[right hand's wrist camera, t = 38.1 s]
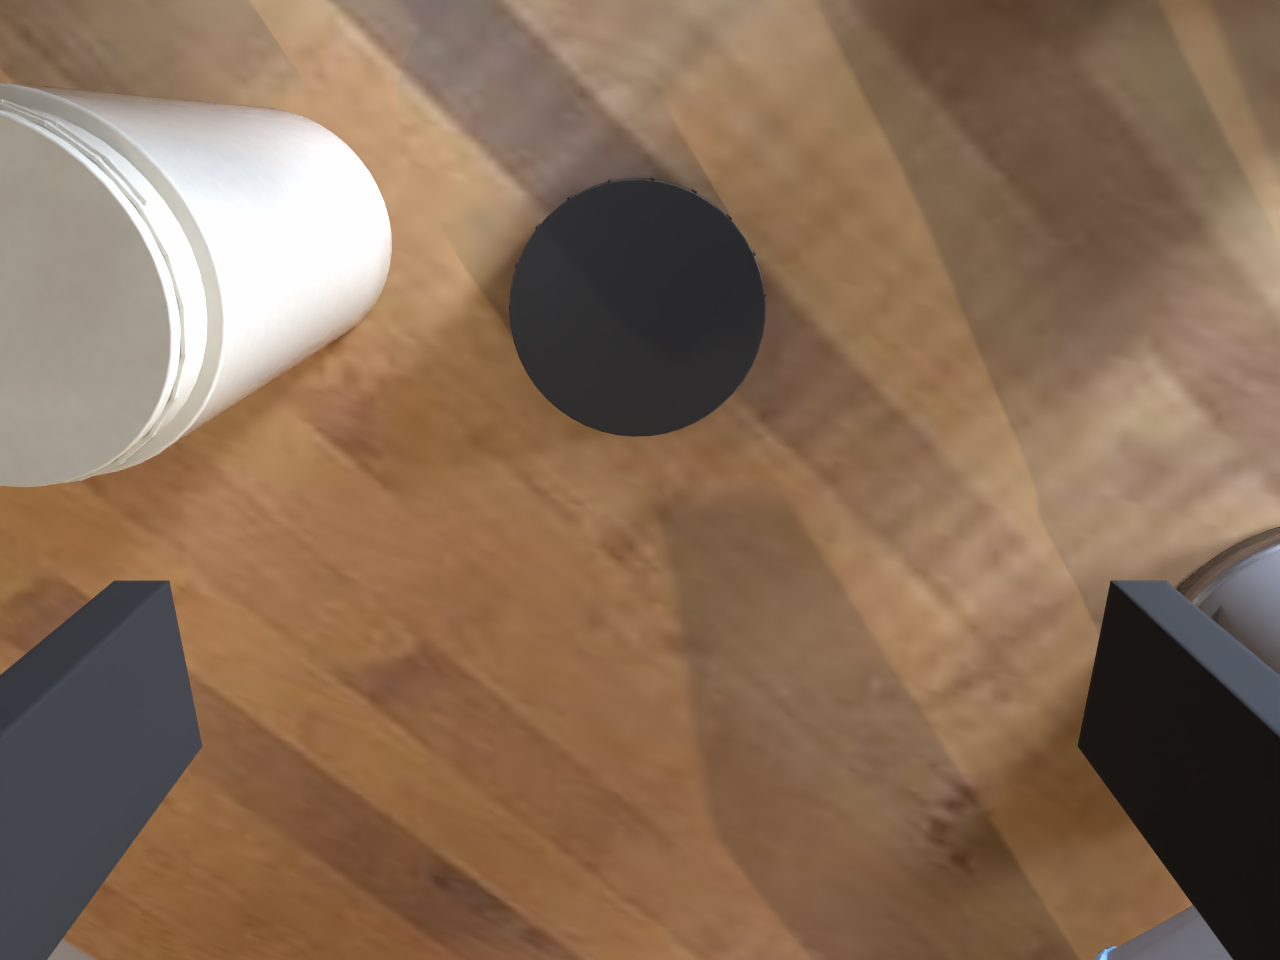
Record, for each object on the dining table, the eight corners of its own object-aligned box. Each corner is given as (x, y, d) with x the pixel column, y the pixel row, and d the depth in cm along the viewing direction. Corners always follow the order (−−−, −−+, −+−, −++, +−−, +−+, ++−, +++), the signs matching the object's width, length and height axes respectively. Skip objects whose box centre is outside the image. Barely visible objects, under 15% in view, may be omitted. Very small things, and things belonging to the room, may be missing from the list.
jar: (273, 53, 37) (-65, -31, 19) (440, 255, 40) (279, 345, 22) (106, 211, 39) (-337, 266, 21) (276, 392, 42) (8, 575, 24)
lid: (515, 419, 42) (509, 434, 40) (512, 171, 39) (505, 172, 37) (749, 428, 43) (755, 442, 40) (769, 181, 39) (777, 183, 37)
